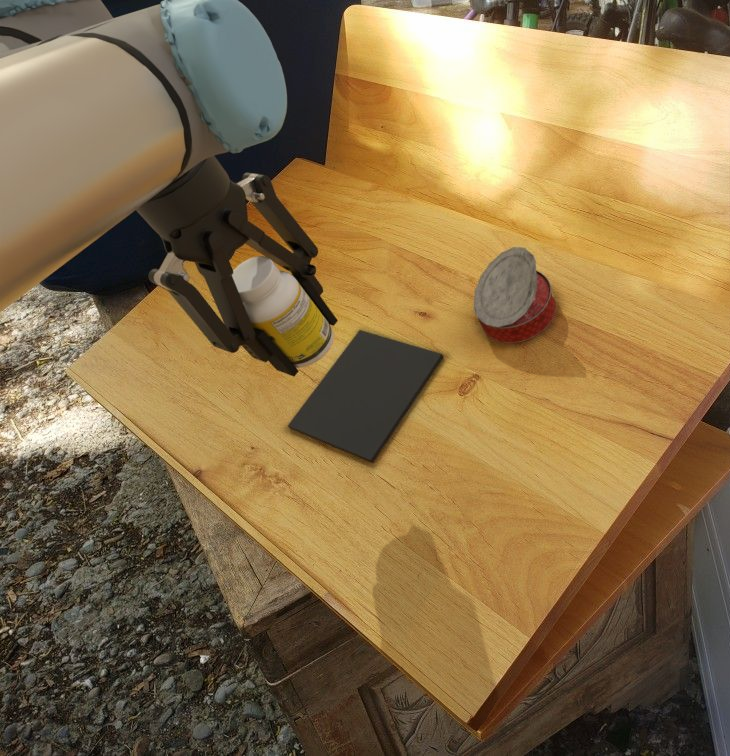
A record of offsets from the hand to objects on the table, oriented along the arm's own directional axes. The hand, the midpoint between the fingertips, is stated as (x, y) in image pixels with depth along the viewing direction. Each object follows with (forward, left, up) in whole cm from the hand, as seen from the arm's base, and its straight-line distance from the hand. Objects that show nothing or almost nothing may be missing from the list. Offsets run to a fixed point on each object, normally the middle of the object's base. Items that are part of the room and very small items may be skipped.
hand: (307, 344), depth 71 cm
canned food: (+20, -11, -15) cm, 27 cm away
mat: (+3, +2, -15) cm, 15 cm away
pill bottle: (0, 0, 0) cm, 0 cm away
